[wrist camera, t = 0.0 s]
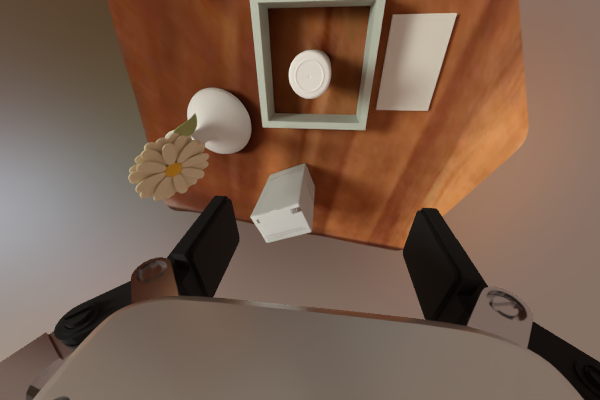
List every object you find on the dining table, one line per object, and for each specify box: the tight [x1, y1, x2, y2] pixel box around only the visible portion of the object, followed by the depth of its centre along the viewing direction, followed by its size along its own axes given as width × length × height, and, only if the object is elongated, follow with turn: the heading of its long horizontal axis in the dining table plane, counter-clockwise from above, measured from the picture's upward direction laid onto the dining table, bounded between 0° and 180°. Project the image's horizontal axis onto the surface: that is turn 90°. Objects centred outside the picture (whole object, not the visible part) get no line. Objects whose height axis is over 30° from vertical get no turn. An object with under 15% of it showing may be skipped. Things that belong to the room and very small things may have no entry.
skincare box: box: [251, 163, 315, 243], centre depth 40 cm, size 8×6×15 cm
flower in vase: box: [128, 88, 251, 201], centre depth 30 cm, size 13×11×25 cm
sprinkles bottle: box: [289, 50, 331, 99], centre depth 29 cm, size 5×5×13 cm
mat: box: [376, 13, 457, 111], centre depth 33 cm, size 12×8×1 cm, turn 0°
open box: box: [250, 0, 386, 130], centre depth 32 cm, size 16×16×5 cm
